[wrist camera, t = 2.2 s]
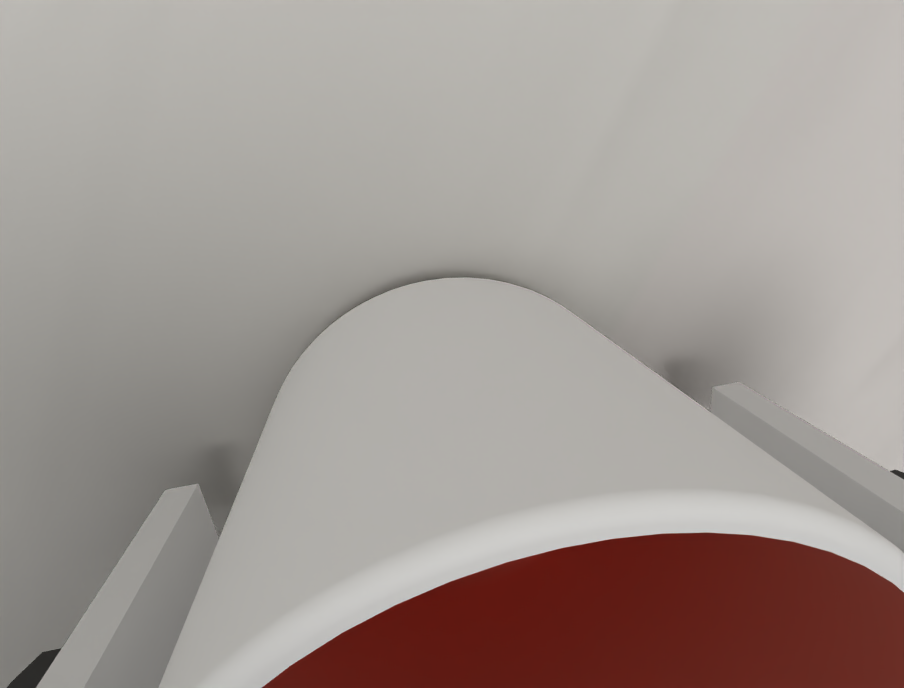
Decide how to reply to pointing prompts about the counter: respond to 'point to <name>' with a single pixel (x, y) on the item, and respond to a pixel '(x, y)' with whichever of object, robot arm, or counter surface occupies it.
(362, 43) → the counter surface
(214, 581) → the cup
